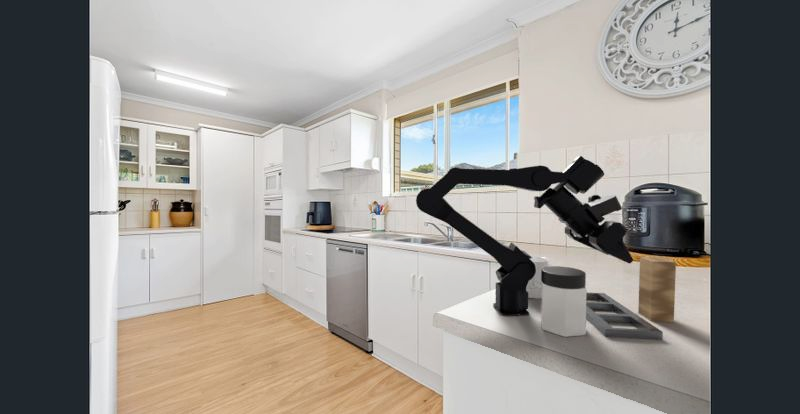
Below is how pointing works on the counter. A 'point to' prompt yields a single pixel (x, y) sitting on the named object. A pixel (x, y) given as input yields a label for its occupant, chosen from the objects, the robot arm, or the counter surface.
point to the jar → (563, 301)
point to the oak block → (657, 289)
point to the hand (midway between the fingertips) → (619, 257)
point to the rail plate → (618, 319)
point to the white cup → (536, 277)
